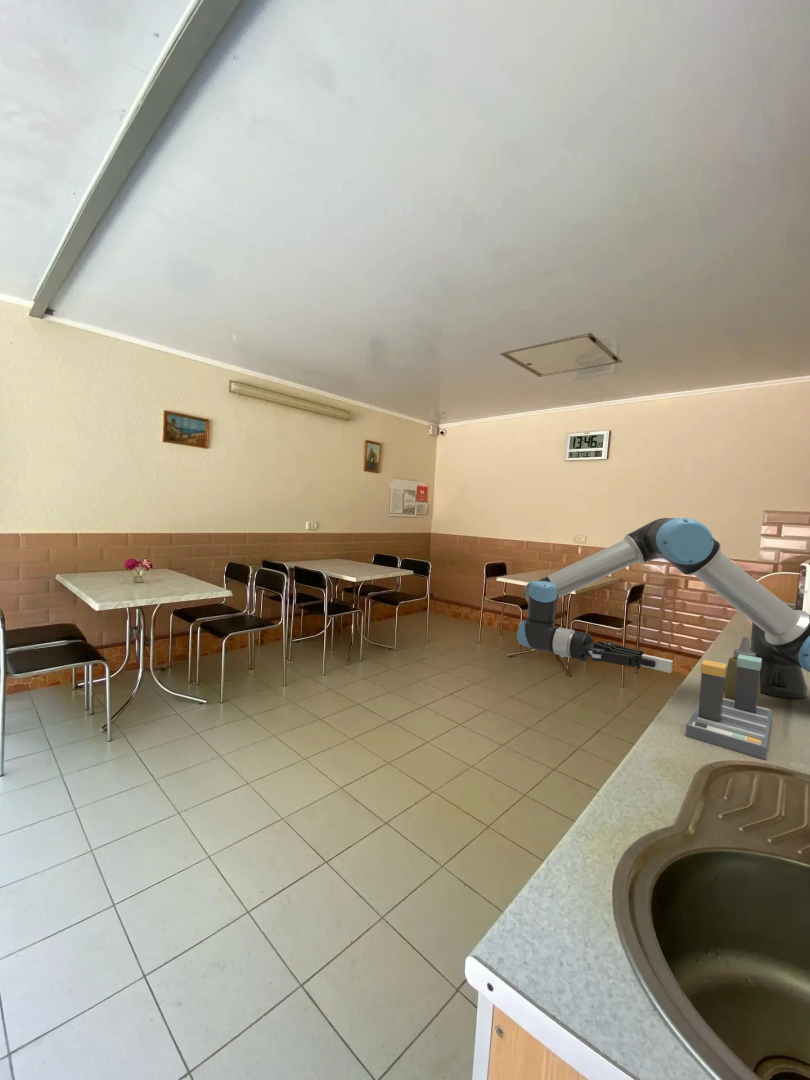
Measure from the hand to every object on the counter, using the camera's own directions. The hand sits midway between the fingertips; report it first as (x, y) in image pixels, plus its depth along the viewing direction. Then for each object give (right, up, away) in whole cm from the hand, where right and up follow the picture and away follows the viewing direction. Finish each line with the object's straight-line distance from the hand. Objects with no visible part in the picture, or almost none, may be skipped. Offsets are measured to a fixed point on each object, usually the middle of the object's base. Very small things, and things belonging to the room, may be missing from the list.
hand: (671, 666), depth 109 cm
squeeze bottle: (+24, -13, +11) cm, 30 cm away
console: (+12, -14, -2) cm, 19 cm away
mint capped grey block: (+18, -11, +1) cm, 21 cm away
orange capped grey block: (+6, -11, -5) cm, 13 cm away
